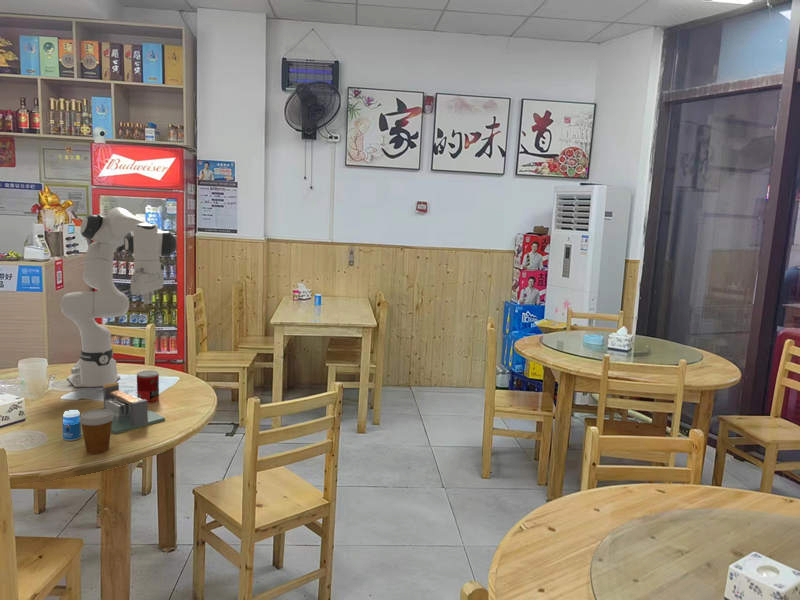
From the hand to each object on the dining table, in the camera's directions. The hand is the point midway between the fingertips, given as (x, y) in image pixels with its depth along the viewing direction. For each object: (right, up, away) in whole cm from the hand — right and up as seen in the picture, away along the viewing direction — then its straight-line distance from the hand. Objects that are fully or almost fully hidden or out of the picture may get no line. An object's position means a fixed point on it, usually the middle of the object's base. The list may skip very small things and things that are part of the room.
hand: (147, 303), depth 223 cm
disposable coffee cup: (+1, -46, -39) cm, 60 cm away
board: (-4, -41, -11) cm, 43 cm away
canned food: (-4, -38, +9) cm, 39 cm away
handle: (-3, -35, -13) cm, 37 cm away
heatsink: (-3, -41, -12) cm, 43 cm away
